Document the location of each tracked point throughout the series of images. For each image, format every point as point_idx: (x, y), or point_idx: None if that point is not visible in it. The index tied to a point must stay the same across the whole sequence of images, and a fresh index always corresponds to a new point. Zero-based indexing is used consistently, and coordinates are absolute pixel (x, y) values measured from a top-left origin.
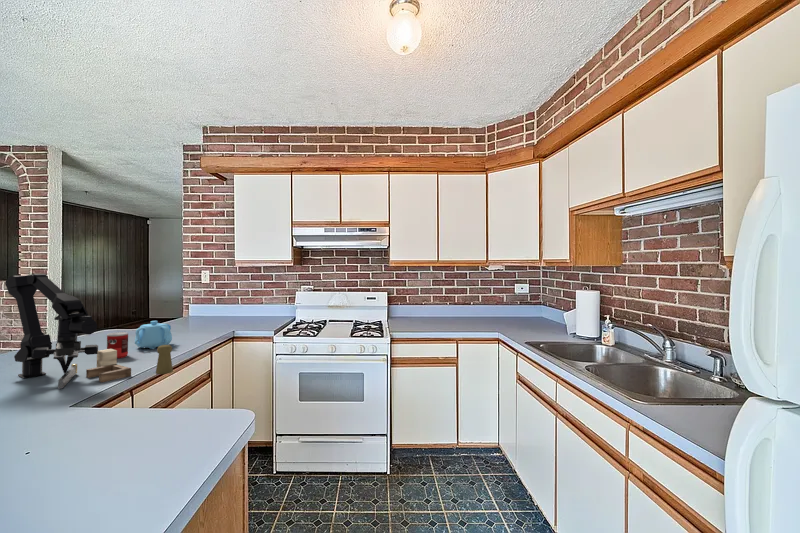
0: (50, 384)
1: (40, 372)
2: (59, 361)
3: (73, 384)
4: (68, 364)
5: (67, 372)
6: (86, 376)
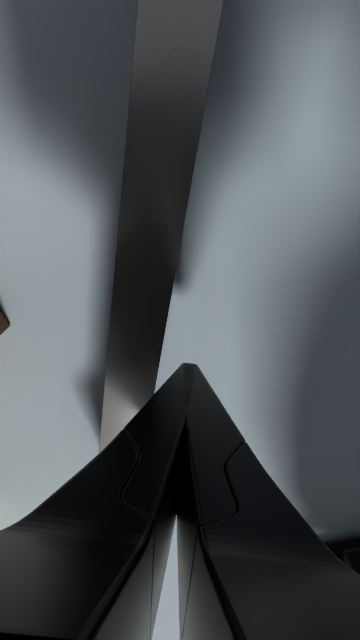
0: (328, 214)
1: (350, 567)
2: (318, 550)
3: (84, 4)
4: (128, 447)
5: (152, 255)
6: (2, 324)
